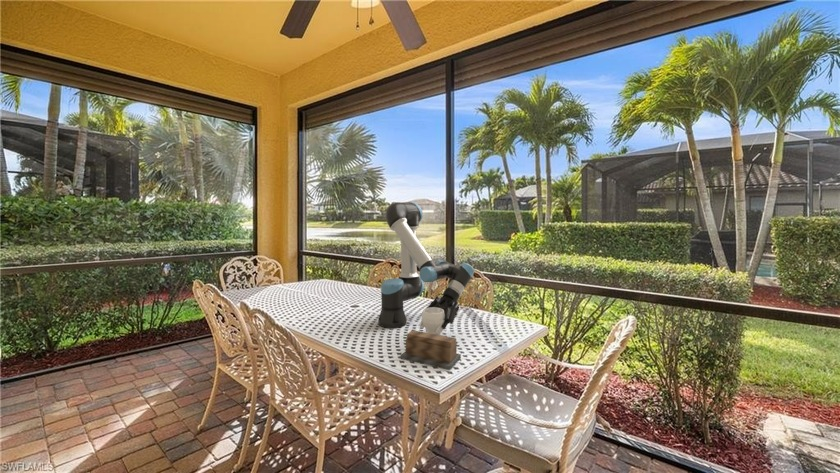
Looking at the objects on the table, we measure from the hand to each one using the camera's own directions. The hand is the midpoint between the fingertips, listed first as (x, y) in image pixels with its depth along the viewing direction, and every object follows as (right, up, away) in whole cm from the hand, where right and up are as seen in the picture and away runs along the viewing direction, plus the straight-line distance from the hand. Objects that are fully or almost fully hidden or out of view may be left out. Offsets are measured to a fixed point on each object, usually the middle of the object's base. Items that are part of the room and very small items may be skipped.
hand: (428, 330), depth 160 cm
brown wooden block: (0, -8, -15) cm, 16 cm away
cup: (+2, -6, +2) cm, 7 cm away
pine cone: (+10, -3, +43) cm, 44 cm away
